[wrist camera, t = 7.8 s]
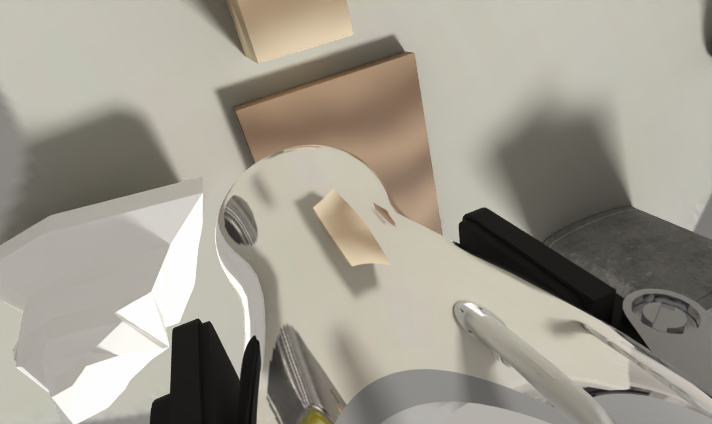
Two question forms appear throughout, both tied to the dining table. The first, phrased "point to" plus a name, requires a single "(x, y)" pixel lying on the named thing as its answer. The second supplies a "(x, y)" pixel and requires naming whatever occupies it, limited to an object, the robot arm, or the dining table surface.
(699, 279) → the flask
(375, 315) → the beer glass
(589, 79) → the dining table surface
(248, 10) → the beech block
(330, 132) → the serving board
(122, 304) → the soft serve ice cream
